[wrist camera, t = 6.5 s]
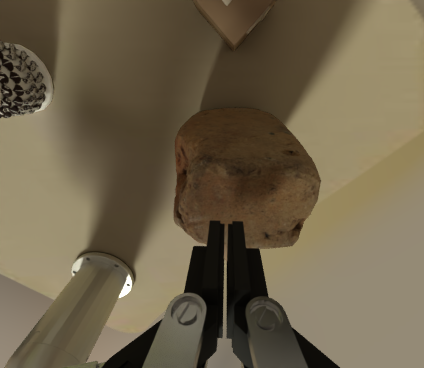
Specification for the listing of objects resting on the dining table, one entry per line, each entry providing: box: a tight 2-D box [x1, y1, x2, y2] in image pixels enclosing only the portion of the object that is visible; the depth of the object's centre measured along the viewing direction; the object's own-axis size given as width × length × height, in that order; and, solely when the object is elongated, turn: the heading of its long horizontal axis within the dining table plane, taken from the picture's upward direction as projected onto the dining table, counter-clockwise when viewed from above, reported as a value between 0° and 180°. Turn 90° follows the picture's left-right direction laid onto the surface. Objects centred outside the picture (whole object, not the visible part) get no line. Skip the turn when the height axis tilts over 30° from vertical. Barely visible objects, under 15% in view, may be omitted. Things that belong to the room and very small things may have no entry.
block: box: [174, 107, 321, 249], centre depth 22 cm, size 11×8×20 cm
